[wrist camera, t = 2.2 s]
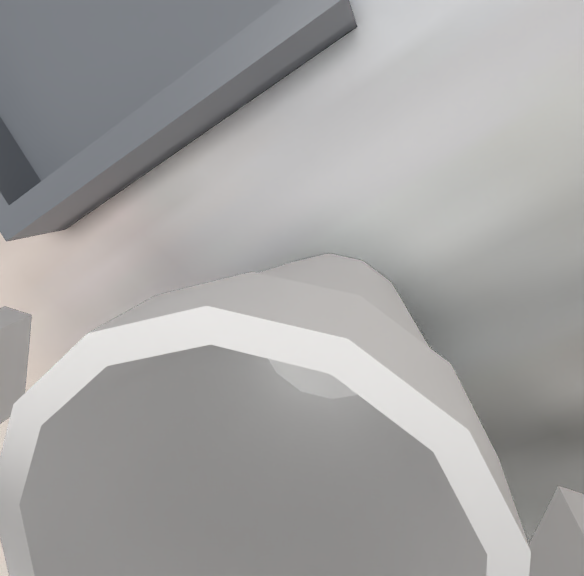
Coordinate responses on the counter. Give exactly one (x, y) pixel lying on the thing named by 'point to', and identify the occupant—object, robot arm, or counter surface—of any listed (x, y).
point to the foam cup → (257, 442)
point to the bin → (131, 89)
